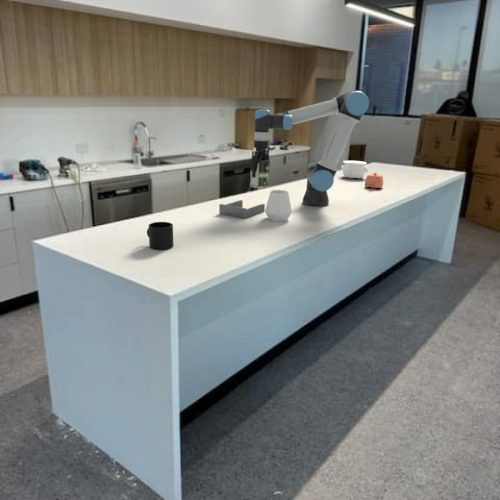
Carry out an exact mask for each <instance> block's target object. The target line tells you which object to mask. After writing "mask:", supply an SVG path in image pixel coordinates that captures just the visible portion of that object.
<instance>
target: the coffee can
mask: <svg viewBox="0 0 500 500" xmlns="http://www.w3.org/2000/svg"><path fill="white" fill-rule="evenodd" d="M256 163H258V165H257V170H256V171H257V184H254V183H252V171H250V182H249V187H251V188H255V189H256V188H257V189H261V188H262V189H263V188H265V189H266V188H268V187H269V186H270V182H269V181H270V168H269V165H270V166H271V161H270V159H269V160H260V161H256Z"/></svg>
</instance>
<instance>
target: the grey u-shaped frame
mask: <svg viewBox="0 0 500 500" xmlns="http://www.w3.org/2000/svg"><path fill="white" fill-rule="evenodd" d="M243 203H244V202H243V200H242V199H239V200H236V201H233V202H230V203H227V204H223V203H220V204H219V206H218V207H219V209H218V210H219V215H222V216H227V217H232V218H238V219H247V218H252V217H254V216H256V215H259V214H261V213H264V212H265V209H266V206H265V205H266V204H265V203H260V204H258V205H254V206H252V207H249V208H246V207H243Z"/></svg>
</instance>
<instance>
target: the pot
mask: <svg viewBox="0 0 500 500" xmlns="http://www.w3.org/2000/svg"><path fill="white" fill-rule="evenodd" d="M343 163H344V164H343V165H341V167H340V170H342V174H343V177H345V178H347V177H348V178H347V179H353V178H358V179H362V178H365V175H366V173H368V172H369V169H368V168H366V165H367V164H368V163H367V162H366V161H361V160H343Z"/></svg>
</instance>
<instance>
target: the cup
mask: <svg viewBox="0 0 500 500" xmlns="http://www.w3.org/2000/svg"><path fill="white" fill-rule="evenodd" d="M292 210H293V209H292V204H291V198H290V195H289V191H287V190H281V189H274V190H271V191H270V193H269V196H268V200H267V203H266V206H265V211H264V212H265V214H266V216H267V218H268V220H269V221H272V220H273V221H272V222H286V221H288V219H289V218H290V216H292V212H293V211H292ZM285 220H286V221H285Z"/></svg>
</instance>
